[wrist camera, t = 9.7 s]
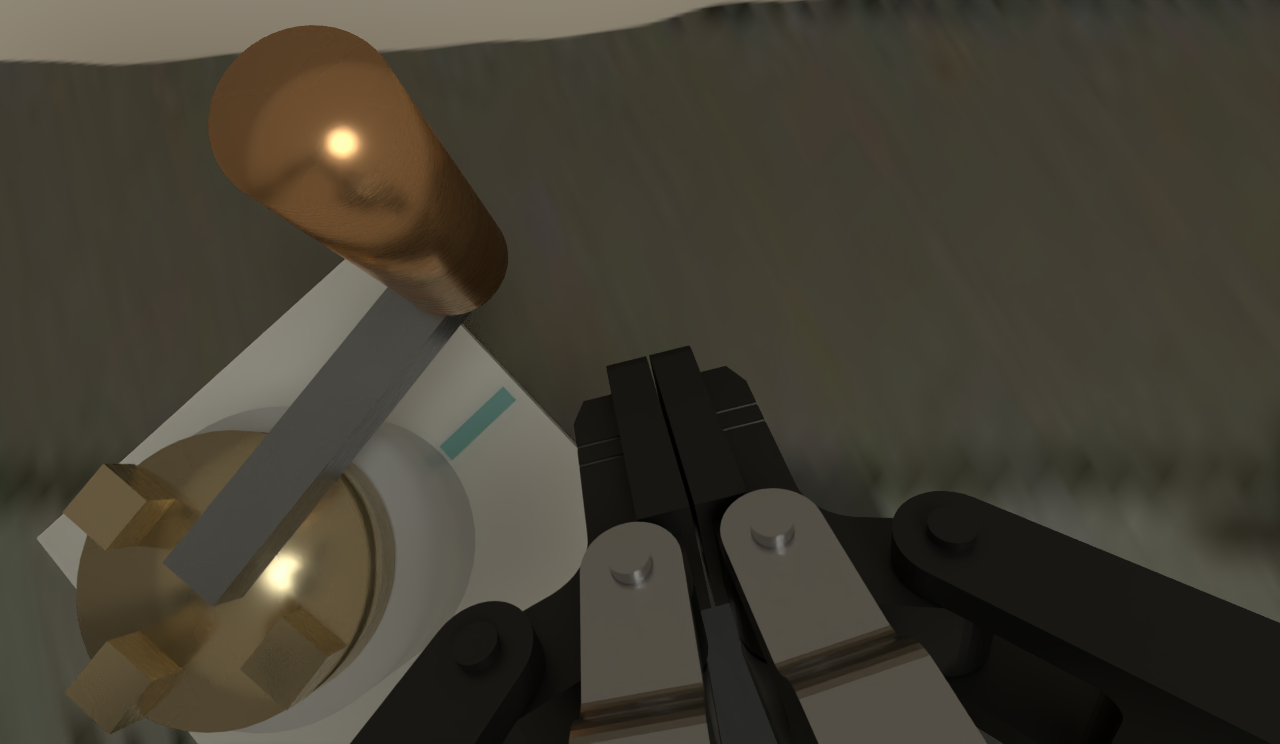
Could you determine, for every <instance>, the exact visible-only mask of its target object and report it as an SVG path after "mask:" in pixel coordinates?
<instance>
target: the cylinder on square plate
mask: <svg viewBox="0 0 1280 744" xmlns="http://www.w3.org/2000/svg"><path fill="white" fill-rule="evenodd" d="M386 288H387V286H385V285H384V284H382V283H381V282H379V281H378V280H376V279H375V278H373V277H372V276H370V275H369V274H367V273H366V272H364V271H363V270H361V269H360V268H358V267H357V266H355V265H354V264H352V263H350V262H349V261H347V260H346V259H345V260H344V261H343V262H342V263H340V264H339V265H338V266H337V267H336V268H335V269H334V270H333V271H332V272H330V273H329V274H328V275H327V276H326V277H325V278H324V279H323V280H322V281H320V282H319V283H318V284H317V285H316V286H315V287H314V288H313V289H312V290H311V291H309V292H308V293H307V294H306V295H305V296H304V297H303V298H302V299H301V300H299V301H298V302H297V303H296V304H295V305H294V306H293V307H292V308H291V309H290V310H288V311H287V312H286V313H285V314H284V315H283V316H282V317H281V318H280V319H278V320H277V321H276V322H275V323H274V324H273V325H272V326H271V327H270V328H268V329H267V330H266V331H265V332H264V333H263V334H262V335H261V336H260V337H259V338H257V339H256V340H255V341H254V342H253V343H252V344H251V345H250V346H249V347H247V348H246V349H245V350H244V351H243V352H242V353H241V354H240V355H239V356H238V357H236V358H235V359H234V360H233V361H232V362H231V363H230V364H229V365H228V366H226V367H225V368H224V369H223V370H222V371H221V372H220V373H219V374H218V375H216V376H215V377H214V378H213V379H212V380H211V381H210V382H209V383H208V384H207V385H205V386H204V387H203V388H202V389H201V390H200V391H199V392H198V393H197V394H195V395H194V396H193V397H192V398H191V399H190V400H189V401H188V402H187V403H186V404H184V405H183V406H182V407H181V408H180V409H179V410H178V411H177V412H176V413H174V414H173V415H172V416H171V417H170V418H169V419H168V420H167V421H166V422H164V423H163V424H162V425H161V426H160V427H159V428H158V429H157V430H156V431H155V432H153V433H152V434H151V435H150V436H149V437H148V438H147V439H146V440H145V441H143V442H142V443H141V444H140V445H139V446H138V447H137V448H136V449H135V450H134V451H132V452H131V453H130V454H129V455H128V456H127V457H126V458H125V459H124V460H122V461H121V462H120V463H119V464H135V465H137V466H138V465H139V464H140V463H141V462H142V461H144V460H145V459H147V458H148V457H150V456H151V455H153V454H154V453H156V452H157V451H159V450H160V449H162V448H164V447H166V446H168V445H170V444H173V443H175V442H177V441H179V440H182V439H185V438H188V437H191V436H194V435H198V434H203V433H207V432H212V431H224V430H240V431H254V432H265V433H269V432H270V430H271V429H272V428H273V427H274V425H275V424H276V423H277V422H278V421H279V419H280V418H281V417H282V416H283V414H284V413H285V412H286V411H287V410H288V408H289V407H290V406H291V405H292V403H293V402H294V401H295V400H296V399H297V397H298V396H299V395H300V394H301V392H302V391H303V390H304V389H305V388H306V386H307V385H308V384H309V383H310V381H311V380H312V379H313V378H314V377H315V375H316V374H317V373H318V372H319V370H320V369H321V368H322V367H323V366H324V364H325V363H326V362H327V361H328V359H329V358H330V357H331V356H332V355H333V353H334V352H335V351H336V350H337V348H338V347H339V346H340V345H341V344H342V342H343V341H344V340H345V339H346V337H347V336H348V335H349V334H350V332H351V331H352V330H353V329H354V328H355V326H356V325H357V324H358V323H359V321H360V320H361V319H362V318H363V317H364V315H365V314H366V313H367V312H368V310H369V309H370V308H371V307H372V306H373V304H374V303H375V302H376V301H377V299H378V298H379V297H380V296H381V295H382V293H383V292H384V291H385V290H386ZM577 450H578V449H577V445H576V443H575V442H574V441H573V440H572V439H571V438H570V437H569V436H568V435H567V433H566V432H565V431H564V430H563V429H562V428H561V427H560V426H559V425H558V424H557V423H556V422H555V421H554V420H553V419H552V418H551V417H550V416H549V414H548V413H547V412H546V411H545V410H544V409H543V408H542V407H541V406H540V405H539V404H538V403H537V402H536V401H535V400H534V399H533V398H532V396H531V395H530V394H529V393H528V392H527V391H526V390H525V389H524V388H523V387H522V386H521V385H520V384H519V383H518V382H517V381H516V380H515V379H514V377H513V376H512V375H511V374H510V373H509V372H508V371H507V370H506V369H505V368H504V367H503V366H502V365H501V364H500V363H499V362H498V361H497V359H496V358H495V357H494V356H493V355H492V354H491V353H490V352H489V351H488V350H487V349H486V348H485V347H484V346H483V345H482V344H481V343H480V342H479V340H478V339H477V338H476V337H475V336H474V335H473V334H472V333H471V332H470V331H469V330H468V329H467V328H466V327H465V326H464V325H463V324H461V325H460V326H459V328H458V329H457V330H456V331H455V333H454V334H453V335H452V336H451V338H450V339H449V340H448V341H447V343H446V344H445V345H444V346H443V348H442V349H441V350H440V351H439V353H438V354H437V355H436V356H435V358H434V359H433V360H432V361H431V363H430V364H429V365H428V366H427V368H426V369H425V370H424V371H423V373H422V374H421V375H420V377H419V378H418V379H417V380H416V382H415V383H414V384H413V385H412V387H411V388H410V389H409V390H408V392H407V393H406V394H405V395H404V397H403V398H402V399H401V400H400V402H399V403H398V404H397V405H396V407H395V408H394V409H393V410H392V412H391V413H390V414H389V415H388V417H387V418H386V419H385V420H384V422H383V423H382V424H381V425H380V427H379V428H378V429H377V430H376V432H375V433H374V434H373V435H372V437H371V438H370V439H369V440H368V442H367V443H366V444H365V445H364V447H363V448H362V449H361V450H360V452H359V453H358V454H357V455H356V457H355V458H354V459H353V460H352V463H353V464H355V465H356V466H357V467H358V468H359V469H360V470H361V471H362V472H363V473H364V475H365V476H366V477H367V478H368V480H369V481H370V482H371V483H372V485H373V486H374V488H375V490H376V491H377V493H378V495H379V496H380V498H381V500H382V503H383V505H384V507H385V510H386V512H387V515H388V518H389V522H390V525H391V529H392V534H393V541H394V548H395V569H394V578H393V585H392V589H391V594H390V598H389V602H388V604H387V607H386V610H385V613H384V615H383V618H382V620H381V622H380V624H379V626H378V628H377V630H376V632H375V634H374V635H373V637H372V638H371V640H370V641H369V643H368V644H367V646H366V647H365V649H364V650H363V651H362V652H361V653H360V655H359V656H358V657H357V658H356V659H355V660H354V661H353V663H352V664H351V665H349V666H348V667H347V668H346V669H345V670H344V671H343V672H342V673H340V674H339V675H338V676H337V677H335V678H334V679H332V680H331V681H330V682H328V683H327V684H325V685H324V686H322V687H321V688H319V689H318V690H316V691H314V692H313V693H311V694H310V695H309V696H308V697H307V698H305V699H304V700H302V701H301V702H299V703H297V704H296V705H294V706H293V707H291V708H290V709H288V710H285V711H283V712H281V713H279V714H277V715H275V716H273V717H271V718H269V719H267V720H265V721H263V722H260V723H257V724H255V725H252V726H249V727H246V728H242V729H237V730H232V731H227V732H214V733H200V732H189V733H190V735H191V736H192V737H193V738H194V740H195V741H196V742H197V743H198V744H350V743H351V742H352V740H353V739H354V738H355V736H356V735H357V734H358V733H359V731H360V730H361V729H362V728H363V726H364V725H365V724H366V723H367V721H368V720H369V719H370V717H371V716H372V715H373V714H374V712H375V711H376V710H377V709H378V707H379V706H380V705H381V703H382V702H383V701H384V700H385V698H386V697H387V696H388V695H389V693H390V692H391V691H392V690H393V688H394V687H395V686H396V684H397V683H398V682H399V681H400V679H401V678H402V677H403V676H404V674H405V673H406V672H407V670H408V669H409V668H410V667H411V665H412V664H413V663H414V662H415V660H416V659H417V658H418V657H419V655H420V654H421V653H422V651H423V650H424V649H425V648H426V646H427V645H428V644H429V643H430V641H431V640H432V639H433V637H434V636H435V635H436V634H437V632H438V631H439V630H440V629H441V628H442V627H443V625H444V624H445V623H446V622H447V621H449V620H450V619H451V618H452V617H453V616H455V615H456V614H457V613H459V612H460V611H462V610H464V609H466V608H468V607H470V606H472V605H475V604H478V603H482V602H487V601H502V602H507V603H510V604H513V605H515V606H516V607H518V608H520V609H521V610H522V611H524V610H525V609H527V608H529V607H531V606H532V605H534V604H536V603H538V602H539V601H541V600H543V599H545V598H546V597H548V596H550V595H551V594H553V593H554V592H556V591H557V590H559V589H560V588H562V587H563V586H564V585H565V584H566V583H567V582H568V581H569V580H570V579H571V578H572V577H573V576H574V575H575V573H576V572H577V570H578V569H579V568H580V565H581V562H582V558H583V556H584V554H585V552H586V550H587V544H588V542H587V529H586V521H585V512H584V504H583V495H582V487H581V478H580V470H579V469H580V467H579V461H578V453H577ZM86 537H87V534H86V533H85V532H84V531H83V530H81V529H80V528H79V527H78V526H77V525H76V524H75V523H73V522H72V521H71V520H70V519H69V518H68V517H67V516H66V515H64V514H63V515H62V516H61V517H59V518H58V519H57V520H56V521H55V522H54V523H53V524H52V525H51V526H49V527H48V528H47V529H46V530H45V531H44V532H43V533H42V534H41V535H39V536H38V537H37V540H38V541H39V542H40V543H41V545H42V546H43V547H44V549H45V550H46V551H47V552H48V554H49V555H50V556H51V557H52V559H53V560H54V561H55V563H56V564H57V565H58V566H59V568H60V569H61V570H62V571H63V573H64V574H65V575H66V577H67V578H68V579H69V580H70V582H71V583H72V584H73V585H74V587H75V588H77V574H78V568H79V563H80V557H81V554H82V550H83V547H84V544H85V540H86Z"/></svg>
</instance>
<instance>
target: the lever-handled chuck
mask: <svg viewBox="0 0 1280 744" xmlns="http://www.w3.org/2000/svg"><path fill="white" fill-rule="evenodd" d="M208 130H209V139H210V144H211V147H212V151H213V154H214V156H215V158H216V161H217V163H218V165H219V166H220V168H221V169H222V171H223V173H224V174H225V175H226V176H227V177H228V179H229V180H230V181H231V182H232V183H233V184H234V185H235V186H236V187H238V188H239V189H240V190H241V191H243V192H244V193H246V194H247V195H249V196H250V197H252V198H253V199H255V200H256V201H258V202H259V203H261V204H263V205H264V206H266V207H267V208H269V209H270V210H272V211H273V212H275V213H276V214H278V215H279V216H281V217H282V218H284V219H285V220H287V221H288V222H290V223H291V224H293V225H294V226H296V227H297V228H299V229H300V230H302V231H303V232H305V233H307V234H308V235H310V236H311V237H313V238H314V239H316V240H317V241H319V242H320V243H322V244H323V245H325V246H326V247H328V248H329V249H331V250H332V251H334V252H335V253H337V254H338V255H340V256H341V257H343V258H344V259H346V260H347V261H349V262H350V263H352V264H354V265H355V266H357V267H358V268H360V269H361V270H363V271H364V272H366V273H367V274H369V275H370V276H372V277H373V278H375V279H376V280H378V281H379V282H381V283H382V284H384V285H385V286H387V288H386V290H385V291H384V292H383V293H382V295H381V296H380V297H379V298H378V299H377V301H376V302H375V303H374V304H373V306H372V307H371V308H370V309H369V310H368V312H367V313H366V314H365V315H364V317H363V318H362V319H361V320H360V321H359V323H358V324H357V325H356V326H355V328H354V329H353V330H352V331H351V332H350V334H349V335H348V336H347V337H346V339H345V340H344V341H343V342H342V344H341V345H340V346H339V347H338V348H337V350H336V351H335V352H334V353H333V355H332V356H331V357H330V358H329V359H328V361H327V362H326V363H325V364H324V366H323V367H322V368H321V369H320V370H319V372H318V373H317V374H316V375H315V377H314V378H313V379H312V380H311V381H310V383H309V384H308V385H307V386H306V388H305V389H304V390H303V391H302V392H301V394H300V395H299V396H298V397H297V399H296V400H295V401H294V402H293V403H292V405H291V406H290V407H289V408H288V410H287V411H286V412H285V413H284V414H283V416H282V417H281V418H280V419H279V421H278V422H277V423H276V424H275V425H274V427H273V428H272V429H271V430H270V432H269V433H265V432H254V431H240V430H224V431H212V432H207V433H203V434H198V435H194V436H191V437H188V438H185V439H182V440H179V441H177V442H175V443H173V444H170V445H168V446H166V447H164V448H162V449H160V450H159V451H157V452H156V453H154V454H153V455H151V456H150V457H148V458H147V459H145V460H144V461H142V462H141V463H140V464H139V465H138V466H137V465H135V464H103V465H102V466H101V467H100V468H99V470H98V471H97V472H96V473H95V474H94V476H93V477H92V478H91V479H90V480H89V482H88V483H87V484H86V485H85V486H84V487H83V489H82V490H81V491H80V492H79V493H78V495H77V496H76V497H75V498H74V499H73V501H72V502H71V503H70V504H69V505H68V506H67V508H66V509H65V510H64V511H63V512H62V513H63V514H64V515H66V516H67V517H68V518H69V519H70V520H71V521H72V522H73V523H75V524H76V525H77V526H78V527H79V528H80V529H81V530H83V531H84V532H85V533H86V534H87V537H86V540H85V544H84V547H83V550H82V554H81V557H80V563H79V568H78V574H77V588H76V602H77V615H78V620H79V625H80V630H81V635H82V638H83V641H84V644H85V646H86V649H87V652H88V654H89V656H90V658H91V661H90V662H89V664H88V665H87V666H86V667H85V668H84V670H83V671H82V672H81V673H80V675H79V676H78V677H77V678H76V679H75V681H74V682H73V683H72V684H71V686H70V687H69V688H68V689H67V691H66V692H65V694H66V695H67V696H68V697H69V698H70V699H71V700H72V701H73V702H74V703H75V704H76V705H77V706H79V707H80V708H81V709H82V710H83V711H84V712H85V713H86V714H87V715H88V716H89V717H90V718H92V719H93V720H94V721H95V722H96V723H97V724H98V725H99V726H100V727H101V728H102V729H103V730H104V731H106V732H107V733H108V734H111V733H113V732H115V731H118V730H120V729H122V728H124V727H126V726H128V725H130V724H132V723H134V722H136V721H138V720H141V719H142V718H143V717H144V716H145V717H146V718H148V719H150V720H152V721H154V722H157V723H159V724H162V725H165V726H167V727H170V728H174V729H179V730H183V731H188V732H200V733H214V732H227V731H232V730H237V729H242V728H246V727H249V726H252V725H255V724H257V723H260V722H263V721H265V720H267V719H269V718H271V717H273V716H275V715H277V714H279V713H281V712H283V711H285V710H288V709H290V708H291V707H293V706H294V705H296V704H297V703H299V702H301V701H302V700H304V699H305V698H307V697H308V696H309V695H310V694H311V693H313V692H314V691H316V690H318V689H319V688H321V687H322V686H324V685H325V684H327V683H328V682H330V681H331V680H332V679H334V678H335V677H337V676H338V675H339V674H340V673H342V672H343V671H344V670H345V669H346V668H347V667H348V666H349V665H351V664H352V663H353V661H354V660H355V659H356V658H357V657H358V656H359V655H360V653H361V652H362V651H363V650H364V649H365V647H366V646H367V644H368V643H369V641H370V640H371V638H372V637H373V635H374V634H375V632H376V630H377V628H378V626H379V624H380V622H381V620H382V618H383V615H384V613H385V610H386V607H387V604H388V602H389V598H390V594H391V589H392V585H393V578H394V569H395V548H394V541H393V534H392V529H391V525H390V522H389V518H388V515H387V512H386V510H385V507H384V505H383V503H382V500H381V498H380V496H379V495H378V493H377V491H376V490H375V488H374V486H373V485H372V483H371V482H370V481H369V480H368V478H367V477H366V476H365V475H364V473H363V472H362V471H361V470H360V469H359V468H358V467H357V466H356V465H355V464H353V463H352V460H353V459H354V458H355V457H356V455H357V454H358V453H359V452H360V450H361V449H362V448H363V447H364V445H365V444H366V443H367V442H368V440H369V439H370V438H371V437H372V435H373V434H374V433H375V432H376V430H377V429H378V428H379V427H380V425H381V424H382V423H383V422H384V420H385V419H386V418H387V417H388V415H389V414H390V413H391V412H392V410H393V409H394V408H395V407H396V405H397V404H398V403H399V402H400V400H401V399H402V398H403V397H404V395H405V394H406V393H407V392H408V390H409V389H410V388H411V387H412V385H413V384H414V383H415V382H416V380H417V379H418V378H419V377H420V375H421V374H422V373H423V371H424V370H425V369H426V368H427V366H428V365H429V364H430V363H431V361H432V360H433V359H434V358H435V356H436V355H437V354H438V353H439V351H440V350H441V349H442V348H443V346H444V345H445V344H446V343H447V341H448V340H449V339H450V338H451V336H452V335H453V334H454V333H455V331H456V330H457V329H458V328H459V326H460V325H461V324H462V323H463V321H464V320H465V319H466V318H467V316H468V315H469V314H470V313H471V311H472V310H474V309H476V308H478V307H480V306H481V305H483V304H484V303H486V302H487V301H488V300H489V299H490V298H491V297H492V296H493V295H494V294H495V293H496V291H497V290H498V288H499V287H500V285H501V283H502V281H503V279H504V276H505V274H506V270H507V265H508V250H507V244H506V241H505V238H504V236H503V234H502V232H501V230H500V228H499V227H498V225H497V224H496V222H495V221H494V220H493V218H492V217H491V215H490V214H489V212H488V211H487V209H486V208H485V206H484V205H483V203H482V202H481V200H480V199H479V198H478V196H477V195H476V193H475V192H474V190H473V189H472V187H471V186H470V184H469V183H468V181H467V180H466V178H465V177H464V176H463V174H462V173H461V171H460V170H459V168H458V167H457V165H456V164H455V162H454V161H453V159H452V158H451V157H450V155H449V154H448V152H447V151H446V149H445V148H444V146H443V145H442V143H441V142H440V140H439V139H438V137H437V136H436V135H435V133H434V132H433V130H432V129H431V127H430V126H429V124H428V123H427V121H426V120H425V118H424V117H423V115H422V114H421V113H420V111H419V110H418V108H417V107H416V105H415V104H414V102H413V101H412V99H411V98H410V96H409V95H408V93H407V92H406V91H405V89H404V88H403V86H402V85H401V83H400V82H399V80H398V79H397V77H396V76H395V74H394V73H393V72H392V70H391V69H390V67H389V66H388V64H387V63H386V61H385V60H384V58H383V57H382V56H381V55H380V54H379V53H378V52H377V50H376V49H374V48H373V47H372V46H371V45H370V44H368V43H367V42H366V41H364V40H363V39H361V38H359V37H358V36H356V35H354V34H351V33H349V32H347V31H344V30H341V29H337V28H333V27H327V26H314V25H309V26H299V27H293V28H288V29H285V30H281V31H278V32H276V33H273V34H271V35H269V36H267V37H264V38H262V39H261V40H259V41H258V42H256V43H254V44H253V45H251V46H250V47H249V48H247V49H246V50H245V51H244V52H242V53H241V54H240V55H239V56H238V57H237V58H236V59H235V60H234V61H233V63H232V64H231V65H230V66H229V68H228V69H227V70H226V72H225V73H224V75H223V76H222V78H221V80H220V81H219V83H218V86H217V88H216V90H215V92H214V95H213V98H212V102H211V105H210V111H209V122H208Z"/></svg>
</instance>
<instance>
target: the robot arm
mask: <svg viewBox="0 0 1280 744" xmlns="http://www.w3.org/2000/svg"><path fill="white" fill-rule="evenodd" d="M649 357H650V362H651V367H652V371H653V376H654V380H655V385H656V389H657V392H656V389H655V385H654V382H653V378H652V375H651V371H650V368H649V364H648V361H647V358H646V356H645V357H641V358H637V359H633V360H629V361H625V362H621V363H617V364H613V365H609V366H606V368H607V374H608V379H609V384H610V389H611V395H607V396H603V397H599V398H595V399H591V400H587V401H583V404H582V406H581V409H580V411H579V413H578V416H577V418H576V420H575V423H574V428H575V436H576V445H577V449H578V450H577V453H578V461H579V467H580V469H579V470H580V478H581V487H582V495H583V504H584V512H585V521H586V529H587V542H588V544H587V550H586V552H585V554H584V556H583V558H582V562H581V565H580V568H579V569H578V570H577V572H576V573H575V575H574V576H573V577H572V578H571V579H570V580H569V581H568V582H567V583H566V584H565V585H564V586H563V587H562V588H560V589H559V590H557V591H556V592H554V593H553V594H551V595H550V596H548V597H546V598H545V599H543V600H541V601H539V602H538V603H536V604H534V605H532V606H531V607H529V608H527V609H525V610H524V611H522V610H521V609H520V608H518V607H516V606H515V605H513V604H510V603H507V602H502V601H487V602H482V603H478V604H475V605H472V606H470V607H468V608H466V609H464V610H462V611H460V612H459V613H457V614H456V615H455V616H453V617H452V618H451V619H450V620H449V621H447V622H446V623H445V624H444V625H443V627H442V628H441V629H440V630H439V631H438V632H437V634H436V635H435V636H434V637H433V639H432V640H431V641H430V643H429V644H428V645H427V646H426V648H425V649H424V650H423V651H422V653H421V654H420V655H419V657H418V658H417V659H416V660H415V662H414V663H413V664H412V665H411V667H410V668H409V669H408V670H407V672H406V673H405V674H404V676H403V677H402V678H401V679H400V681H399V682H398V683H397V684H396V686H395V687H394V688H393V690H392V691H391V692H390V693H389V695H388V696H387V697H386V698H385V700H384V701H383V702H382V703H381V705H380V706H379V707H378V709H377V710H376V711H375V712H374V714H373V715H372V716H371V717H370V719H369V720H368V721H367V723H366V724H365V725H364V726H363V728H362V729H361V730H360V731H359V733H358V734H357V735H356V736H355V738H354V739H353V740H352V742H351V743H350V744H722V742H721V736H720V730H719V725H718V719H717V713H716V707H715V701H714V696H713V690H712V684H711V678H710V673H709V667H708V661H707V656H708V643H707V637H706V633H705V629H704V624H703V620H702V615H701V611H700V610H704V609H708V608H711V605H710V600H709V595H708V591H707V586H706V581H705V576H704V572H703V567H702V562H701V558H702V561H703V565H704V568H705V572H706V575H707V579H708V582H709V586H710V589H711V593H712V596H713V600H714V603H715V606H718V605H722V604H726V603H729V604H730V607H731V610H732V613H733V617H734V620H735V623H736V626H737V630H738V636H739V642H740V647H741V651H742V654H743V657H744V659H745V662H746V664H747V667H748V669H749V672H750V675H751V677H752V680H753V682H754V685H755V687H756V690H757V693H758V695H759V698H760V700H761V703H762V705H763V708H764V710H765V713H766V716H767V718H768V721H769V723H770V726H771V728H772V731H773V733H774V736H775V739H776V741H777V744H987V743H986V742H985V740H984V738H983V737H982V735H981V734H980V732H979V731H978V729H977V728H979V729H981V730H982V731H984V732H985V733H987V734H989V735H990V736H992V737H994V738H995V739H997V740H998V741H1000V742H1002V743H1003V744H1280V623H1279V622H1276V621H1274V620H1271V619H1269V618H1266V617H1264V616H1262V615H1259V614H1257V613H1254V612H1252V611H1249V610H1247V609H1244V608H1242V607H1240V606H1237V605H1235V604H1232V603H1230V602H1227V601H1225V600H1223V599H1220V598H1218V597H1215V596H1213V595H1210V594H1208V593H1205V592H1203V591H1201V590H1198V589H1196V588H1193V587H1191V586H1188V585H1186V584H1184V583H1181V582H1179V581H1176V580H1174V579H1171V578H1169V577H1166V576H1164V575H1162V574H1159V573H1157V572H1154V571H1152V570H1149V569H1147V568H1145V567H1142V566H1140V565H1137V564H1135V563H1132V562H1130V561H1128V560H1125V559H1123V558H1120V557H1118V556H1115V555H1113V554H1110V553H1108V552H1106V551H1103V550H1101V549H1098V548H1096V547H1093V546H1091V545H1089V544H1086V543H1084V542H1081V541H1079V540H1076V539H1074V538H1071V537H1069V536H1067V535H1064V534H1062V533H1059V532H1057V531H1054V530H1052V529H1050V528H1047V527H1045V526H1042V525H1040V524H1037V523H1035V522H1032V521H1030V520H1028V519H1025V518H1023V517H1020V516H1018V515H1015V514H1013V513H1011V512H1008V511H1006V510H1003V509H1001V508H998V507H996V506H993V505H991V504H989V503H986V502H984V501H981V500H979V499H976V498H974V497H971V496H968V495H965V494H961V493H956V492H948V491H934V492H927V493H923V494H920V495H917V496H915V497H912V498H910V499H909V500H907V501H906V502H905V503H903V504H902V505H901V506H900V508H899V509H898V510H897V512H896V514H895V515H894V518H869V517H850V516H843V515H838V514H835V513H832V512H829V511H826V510H824V509H822V508H820V507H818V506H816V505H815V504H814V503H813V502H811V501H810V500H809V499H807V498H806V497H805V496H804V495H803V494H802V493H801V492H800V491H799V489H798V487H797V486H796V484H795V482H794V480H793V478H792V476H791V474H790V472H789V469H788V467H787V465H786V463H785V461H784V459H783V457H782V455H781V453H780V451H779V449H778V446H777V444H776V442H775V440H774V438H773V436H772V434H771V432H770V430H769V428H768V426H767V423H766V422H765V421H764V417H763V415H762V413H761V411H760V409H759V407H758V405H757V404H756V401H755V398H754V396H753V394H752V392H751V390H750V388H749V386H748V384H747V382H746V380H744V379H743V378H742V377H740V376H739V375H737V374H736V373H735V372H733V371H732V370H731V369H729V368H728V367H727V366H724V367H720V368H716V369H712V370H708V371H703V372H700V370H699V367H698V365H697V362H696V360H695V357H694V355H693V352H692V350H691V347H690V346H685V347H681V348H677V349H673V350H669V351H665V352H661V353H657V354H653V355H649ZM657 394H658V395H657ZM658 398H659V399H658ZM698 547H699V548H698ZM699 551H700V553H699ZM700 554H701V557H700ZM976 727H977V728H976Z"/></svg>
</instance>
